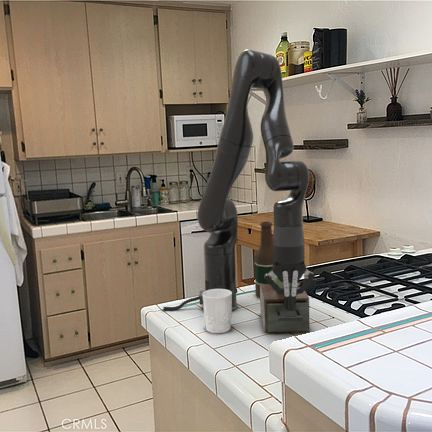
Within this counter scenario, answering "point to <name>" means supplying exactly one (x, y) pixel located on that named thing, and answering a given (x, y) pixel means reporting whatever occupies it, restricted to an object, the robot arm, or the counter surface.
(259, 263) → the beer bottle
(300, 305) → the drawer
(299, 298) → the cabinet
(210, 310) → the white cup
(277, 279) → the block
